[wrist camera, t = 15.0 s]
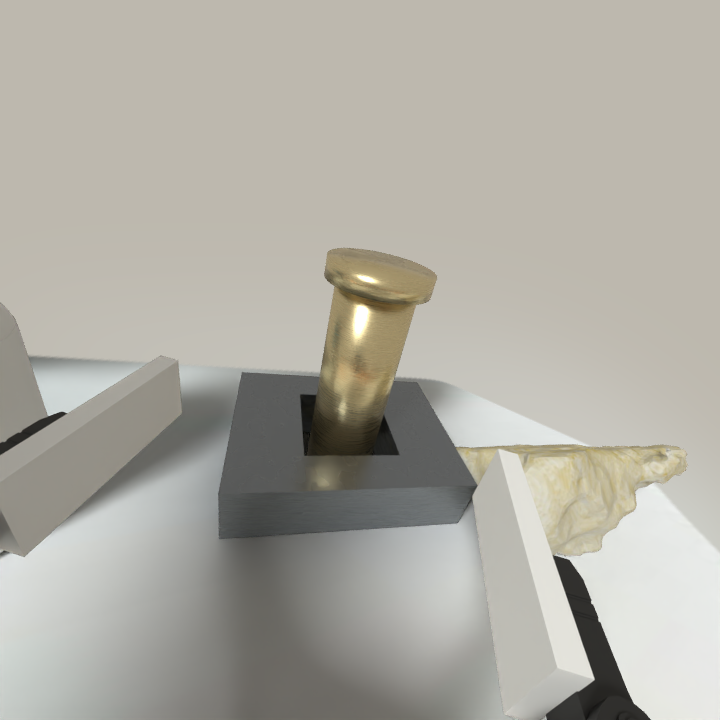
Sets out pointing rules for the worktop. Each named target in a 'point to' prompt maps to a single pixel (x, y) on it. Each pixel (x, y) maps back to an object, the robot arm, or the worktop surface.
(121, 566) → the worktop surface
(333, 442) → the brass flanged peg
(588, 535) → the beige rock
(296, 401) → the block
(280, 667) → the worktop surface
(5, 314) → the pill bottle
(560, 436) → the worktop surface
